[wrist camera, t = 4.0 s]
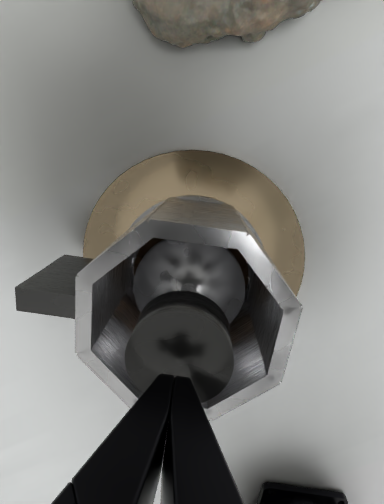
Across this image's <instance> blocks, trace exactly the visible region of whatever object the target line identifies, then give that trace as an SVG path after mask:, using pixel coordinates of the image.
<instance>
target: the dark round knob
mask: <svg viewBox="0 0 384 504" xmlns="http://www.w3.org/2000/svg"><path fill="white" fill-rule="evenodd" d="M133 291H134V297H135V301H136V304H137V306H138V308H139V310H140V312H141V313H140V316H139V318H138V320H137V322H136V325H135V327H134V329H133V332H132V334H131V336H130V338H129V341H128V343H127V346H126V349H125V366H126V369H127V373H128V375H129V377H130V379H131V380H132V382H133V383H134V384H135V386H136V387H137V388H138V389H139V390H140V391H141V392H143V393H144V392H145V391H146V389H147V388H148V387H149V386H150V384H151V383H152V382H153V381H154V380H155V378H156V377H157V376H158V375H159V374H169V375H173V376H174V379H175V377H176V376H183V377H189V378H190V379H191V381H192V383H193V385H194V388H195V390H196V392H197V395H198V397H199V399H200V402H201V403H203V402H206V401H208V400H210V399H212V398H213V397H215V396H216V395H218V394H219V393H220V392H221V391H222V390H223V389H224V388H225V387H226V385H227V384H228V382H229V381H230V378H231V376H232V373H233V369H234V356H233V348H232V341H231V334H230V327H229V324H230V323H231V322H232V321H233V320H234V319H235V318H236V316H237V315H238V313H239V312H240V310H241V307H242V305H243V302H244V297H245V281H244V277H243V273H242V270H241V267H240V265H239V263H238V261H237V260H236V258H235V257H234V255H233V254H232V253H231V252H230V251H229V250H228V249H227V248H225V247H218V246H211V245H203V244H196V243H189V242H182V241H175V240H168V239H164V240H162V241H160V242H158V243H157V244H155V245H154V246H153V247H152V248H151V249H149V251H148V252H147V253H146V254H145V255H144V257H143V258H142V260H141V261H140V263H139V265H138V267H137V269H136V272H135V276H134V282H133ZM173 386H174V385H173Z"/></svg>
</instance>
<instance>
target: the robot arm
mask: <svg viewBox="0 0 384 504" xmlns="http://www.w3.org/2000/svg"><path fill="white" fill-rule="evenodd" d="M173 385H174V386H173ZM166 435H167V436H166ZM165 442H166V443H165ZM164 449H165V450H164ZM163 456H164V457H163ZM162 462H163V466H162ZM161 468H162V478H161V503H160V504H244V502H243V500H242V498H241V495H240V493H239V491H238V488H237V486H236V484H235V481H234V479H233V477H232V474H231V472H230V470H229V467H228V465H227V463H226V460H225V458H224V456H223V453H222V451H221V449H220V446H219V444H218V442H217V439H216V437H215V435H214V432H213V430H212V428H211V425H210V423H209V420H208V418H207V416H206V413H205V411H204V409H203V406H202V404H201V402H200V399H199V397H198V395H197V392H196V390H195V388H194V385H193V383H192V381H191V379H190V378H189V377H183V376H176V377H175V379H174V376H173V375H169V374H159V375H158V376H157V377H156V378H155V380H154V381H153V382H152V383H151V384H150V386H149V387H148V388H147V389H146V391H145V392H144V393H143V394H142V395H141V397H140V398H139V399H138V400H137V401H136V403H135V404H134V405H133V406H132V407H131V409H130V410H129V411H128V412H127V413H126V415H125V416H124V417H123V418H122V419H121V421H120V422H119V423H118V424H117V425H116V427H115V428H114V429H113V430H112V431H111V433H110V434H109V435H108V436H107V437H106V439H105V440H104V441H103V442H102V444H101V445H100V446H99V447H98V448H97V450H96V451H95V452H94V453H93V454H92V456H91V457H90V458H89V459H88V460H87V462H86V463H85V464H84V465H83V466H82V468H81V469H80V470H79V471H78V472H77V474H76V475H75V476H74V477H73V478H72V483H71V482H69V483H68V484H67V485H66V487H65V488H64V489H63V490H62V491H61V493H60V494H59V495H58V496H57V497H56V499H55V500H54V501H53V502H52V503H51V504H153V502H154V498H155V494H156V490H157V486H158V482H159V478H160V473H161ZM257 504H348V501H347V499H346V496H345V495H344V494H343V493H339V492H332V491H325V490H318V489H311V488H304V487H298V486H291V485H284V484H277V483H268V482H267V483H264V484H263V485H262V488H261V491H260V495H259V498H258V502H257Z"/></svg>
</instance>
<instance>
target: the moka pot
mask: <svg viewBox="0 0 384 504" xmlns="http://www.w3.org/2000/svg"><path fill="white" fill-rule="evenodd" d="M164 239H168V240H175V241H182V242H189V243H196V244H203V245H211V246H218V247H225V248H227V249H228V250H229V251H230V252H231V253H232V254H233V255H234V257H235V258H236V260H237V261H238V263H239V265H240V267H241V270H242V273H243V277H244V281H245V297H244V302H243V305H242V307H241V310H240V312H239V313H238V315H237V316H236V318H235V319H234V320H233V321H232V322H231V323H230V324H229V327H230V334H231V341H232V348H233V356H234V369H233V373H232V376H231V378H230V381H229V382H228V384H227V385H226V387H225V388H224V389H223V390H222V391H221V392H220V393H219V394H218V395H216V396H215V397H213V398H212V399H210V400H208V401H206V402H203V403H201V404H202V406H203V409H204V411H205V413H206V416H207V418H208V420H209V421H210V419H212V420H215V419H216V418H218V417H220V416H222V415H224V414H226V413H228V412H229V411H231V410H233V409H235V408H237V407H239V406H240V405H242V404H244V403H246V402H248V401H250V400H252V399H253V398H255V397H257V396H259V395H261V394H263V393H264V392H266V391H268V390H270V389H272V388H274V387H276V386H277V385H279V384H280V382H282V379H283V376H284V372H285V368H286V365H287V361H288V358H289V354H290V351H291V347H292V344H293V340H294V336H295V333H296V329H297V326H298V322H299V319H300V315H301V312H302V307H301V306H302V305H301V304H300V302H299V301H298V299H297V298H296V296H297V294H298V291H299V288H300V285H301V282H302V277H303V272H304V262H305V251H304V240H303V236H302V232H301V227H300V225H299V222H298V219H297V217H296V214H295V212H294V210H293V209H292V207H291V205H290V203H289V202H288V200H287V199H286V197H285V196H284V195H283V193H282V192H281V191H280V190H279V188H278V187H277V186H276V185H275V184H274V183H273V182H272V181H271V180H270V179H268V178H267V177H266V176H265V175H264V174H262V173H261V172H259V171H258V170H257V169H255V168H254V167H252V166H250V165H248V164H246V163H244V162H242V161H241V160H238V159H235V158H233V157H230V156H227V155H224V154H220V153H215V152H210V151H199V150H185V151H174V152H170V153H165V154H160V155H157V156H155V157H152V158H149V159H147V160H144V161H142V162H140V163H139V164H137V165H135V166H133V167H131V168H130V169H128V170H127V171H126V172H124V173H123V174H122V175H120V176H119V177H118V178H117V179H116V180H115V181H114V182H113V183H112V184H111V185H110V186H109V187H108V188H107V189H106V191H105V192H104V193H103V195H102V196H101V197H100V199H99V200H98V202H97V204H96V206H95V207H94V209H93V211H92V213H91V216H90V219H89V221H88V224H87V228H86V232H85V237H84V247H83V257H77V256H70V255H63V256H62V257H60V258H59V259H57V260H56V261H54V262H53V263H51V264H50V265H48V266H47V267H45V268H44V269H42V270H41V271H39V272H38V273H36V274H35V275H33V276H32V277H30V278H29V279H27V280H26V281H24V282H23V283H21V284H20V285H18V286H17V287H15V295H16V309H17V311H24V312H31V313H38V314H45V315H52V316H59V317H66V318H73V319H75V353H77V356H78V357H79V358H80V359H81V360H82V361H83V362H84V363H85V364H86V365H87V366H88V367H89V368H90V369H91V370H92V371H93V372H94V373H95V374H96V375H97V376H98V377H99V378H100V379H101V380H102V381H103V382H104V383H105V384H106V385H107V386H108V387H109V388H110V389H111V390H112V391H113V392H114V393H115V394H116V395H117V396H118V397H119V398H120V399H121V400H122V401H123V402H124V403H125V404H126V405H127V406H128V407H129V408H130V409H131V407H132V406H133V405H134V404H135V403H136V401H137V400H138V399H139V398H140V397H141V395H142V394H143V392H141V391H140V390H139V389H138V388H137V387H136V386H135V384H134V383H133V382H132V380H131V379H130V377H129V375H128V373H127V369H126V366H125V349H126V346H127V343H128V341H129V338H130V336H131V334H132V332H133V329H134V327H135V325H136V322H137V320H138V318H139V316H140V313H141V312H140V310H139V308H138V306H137V304H136V301H135V297H134V291H133V282H134V276H135V272H136V269H137V267H138V265H139V263H140V261H141V260H142V258H143V257H144V255H145V254H146V253H147V252H148V251H149V249H151V248H152V247H153V246H154V245H155V244H157V243H158V242H160V241H162V240H164Z"/></svg>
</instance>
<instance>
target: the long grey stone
mask: <svg viewBox="0 0 384 504" xmlns="http://www.w3.org/2000/svg"><path fill="white" fill-rule="evenodd" d="M320 1H321V0H133V4H134V6H135V8H136V9H138V10H139V12H140V14H141V15H142V16H143V19H144V21H145V22H146V24H147V25H148V28H149V29H150V30H151V32H152V34H153V35H154V36H155V37H156V38H158V39H160V40H164V41H168V42H169V43H170V44H175V45H176V46H178V47H181V48H184V47H187V46H190V45H193V44H195V43H205V44H206V43H209V42H211V41H212V40H218V39H220V38H222V37H224V36H225V35H235V36H241V37H242V38H243V41H244V42H257V41H259V40H260V39H262V38H263V37H264V35H265V33H266V31H269V30H273V29H274V28H275V27H276V26H277V25H278V24H279V23H280V22H282V21H284V20H286V19H290V18H298V17H301V16H303V15H304V14H305V13H307V12H309V11H312V10H313V9H314V8H315V7H316V6H317V5H318V4H319V2H320Z"/></svg>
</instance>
